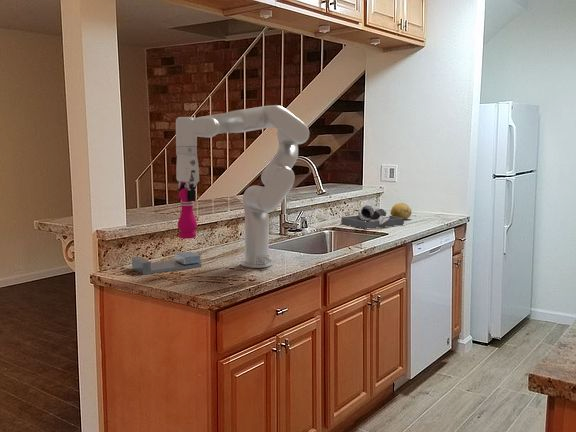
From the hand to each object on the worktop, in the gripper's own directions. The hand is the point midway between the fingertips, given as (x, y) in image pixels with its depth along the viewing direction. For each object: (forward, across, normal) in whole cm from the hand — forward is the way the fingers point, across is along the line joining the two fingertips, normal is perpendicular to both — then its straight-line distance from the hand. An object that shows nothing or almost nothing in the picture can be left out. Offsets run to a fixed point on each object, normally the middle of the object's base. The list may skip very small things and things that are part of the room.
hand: (187, 199), depth 219 cm
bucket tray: (+27, +44, -139) cm, 148 cm away
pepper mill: (+14, 0, 0) cm, 14 cm away
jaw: (+26, +10, -5) cm, 28 cm away
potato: (+28, +50, -168) cm, 177 cm away
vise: (+27, +10, +4) cm, 30 cm away
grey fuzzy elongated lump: (+27, +44, -139) cm, 148 cm away
